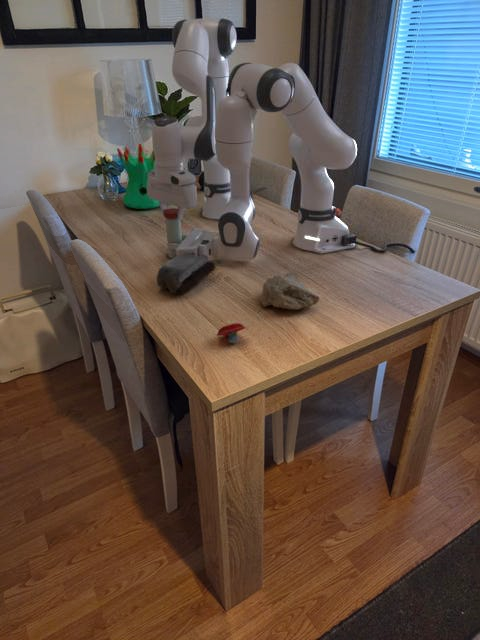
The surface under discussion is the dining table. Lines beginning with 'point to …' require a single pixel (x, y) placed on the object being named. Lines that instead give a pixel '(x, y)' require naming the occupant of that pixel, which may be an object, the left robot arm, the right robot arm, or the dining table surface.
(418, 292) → the dining table surface
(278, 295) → the rough grey stone
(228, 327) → the red toy mushroom
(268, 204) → the dining table surface
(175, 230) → the jar
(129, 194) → the toy
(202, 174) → the toy
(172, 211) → the lid
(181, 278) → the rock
